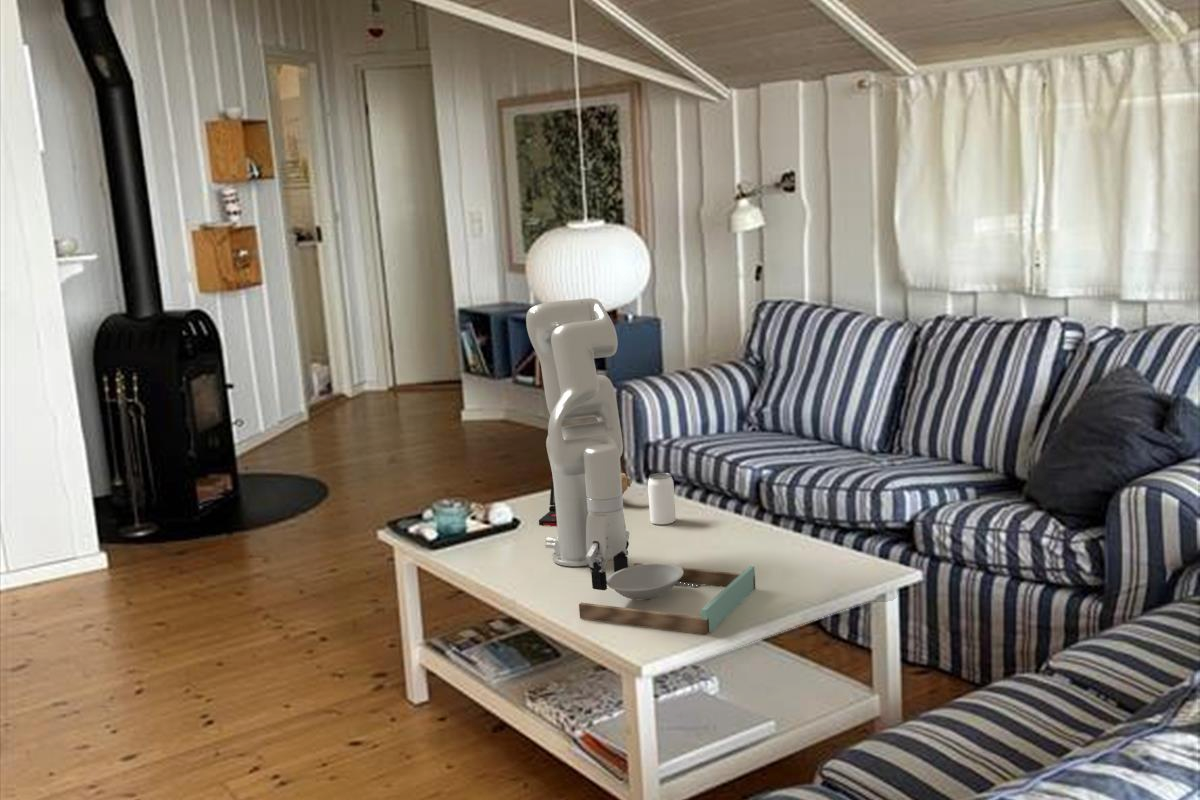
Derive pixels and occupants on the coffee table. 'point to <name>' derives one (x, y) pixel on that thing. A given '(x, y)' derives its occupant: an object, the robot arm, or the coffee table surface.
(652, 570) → the dish
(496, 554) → the coffee table surface
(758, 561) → the coffee table surface
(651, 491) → the can
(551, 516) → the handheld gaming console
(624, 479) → the lion figurine
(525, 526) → the coffee table surface
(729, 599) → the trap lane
